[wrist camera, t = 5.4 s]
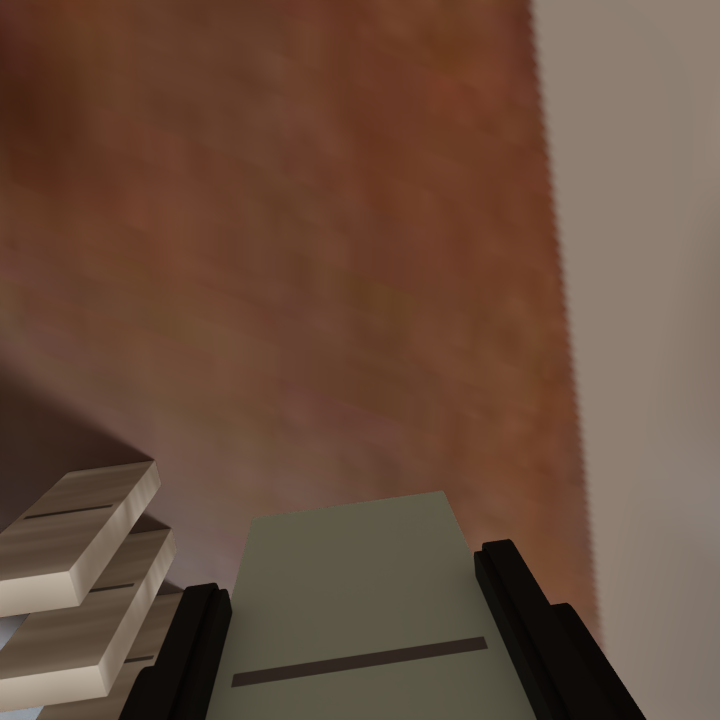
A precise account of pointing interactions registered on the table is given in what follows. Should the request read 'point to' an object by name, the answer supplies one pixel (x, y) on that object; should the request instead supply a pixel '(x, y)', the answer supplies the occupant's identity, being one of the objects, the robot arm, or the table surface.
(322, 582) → the domino
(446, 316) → the table surface
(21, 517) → the domino
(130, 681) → the domino
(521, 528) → the table surface
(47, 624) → the domino
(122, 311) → the table surface
